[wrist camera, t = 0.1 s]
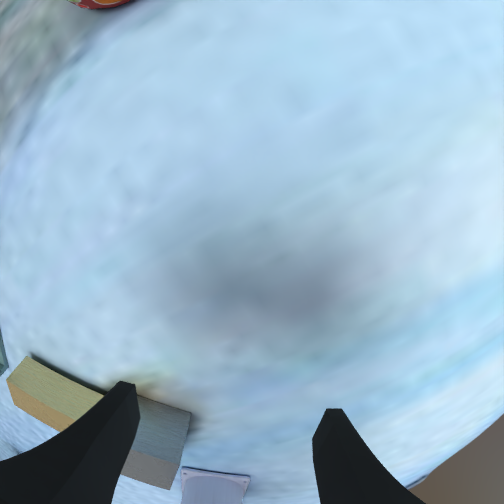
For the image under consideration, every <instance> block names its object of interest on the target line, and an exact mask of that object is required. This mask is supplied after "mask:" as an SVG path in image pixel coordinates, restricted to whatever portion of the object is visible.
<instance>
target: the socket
mask: <svg viewBox="0 0 504 504" xmlns="http://www.w3.org/2000/svg"><path fill="white" fill-rule="evenodd" d="M7 368H8V363H7V359H6V355H5V350H4V346H3V341H2V336H1V331H0V376H1V375H2V374H3V373H4V372H5V371H6V369H7Z"/></svg>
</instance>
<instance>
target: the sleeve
mask: <svg viewBox="0 0 504 504" xmlns="http://www.w3.org/2000/svg"><path fill="white" fill-rule="evenodd" d="M137 399H138V405H139V410H140V416H141V418H140V422H139V425H138V429H137V433H136V436H135V440H134V442H133V444H132V447H131V449H130V452H129V454H128V457H127V459H126V461H125V464H124V466H123V469H122V471H121V475H124V476H127V477H129V478H132V479H135V480H138V481H141V482H144V483H147V484H150V485H153V486H157V487H160V488H163V489H167V490H170V488H171V485H172V483H173V480H174V478H175V475H176V473H177V470H178V468H179V465H180V461H181V457H182V452H183V448H184V443H185V439H186V434H187V430H188V426H189V421H190V417H191V413H189V412H186V411H183V410H180V409H176V408H173V407H170V406H167V405H164V404H161V403H158V402H155V401H152V400H150V399H147V398H144V397H141V396H139V395H137Z"/></svg>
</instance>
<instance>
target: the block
mask: <svg viewBox="0 0 504 504" xmlns="http://www.w3.org/2000/svg"><path fill="white" fill-rule="evenodd" d="M6 381H7V384H8V387H9V390H10V393H11V396H12V399H13V402H14V405H16V406H17V407H19V408H20V409H22V410H23V411H25V412H27V413H28V414H30V415H31V416H33V417H35V418H36V419H38V420H40V421H41V422H43V423H45V424H47V425H48V426H50V427H52V428H54V429H56V430H57V431H59V432H62V431H63V430H64V429H66V428H67V427H68V426H70V425H71V424H72V423H74V422H75V421H76V420H77V419H79V418H80V417H81V416H82V415H84V414H85V413H86V412H87V411H88V410H89V409H90V408H92V407H93V406H94V405H95V404H96V403H97V402H98V401H99V400H100V399H101V398H103V397H104V395H101V394H99V393H97V392H95V391H93V390H90V389H88V388H86V387H84V386H82V385H80V384H78V383H76V382H74V381H72V380H70V379H68V378H66V377H64V376H62V375H60V374H58V373H56V372H54V371H52V370H51V369H49V368H47V367H45V366H43V365H42V364H40V363H38V362H36V361H35V360H33V359H31V358H30V357H28V356H26V357H25V358H24V360H23V361H22V362H21V363H20V364H19V365H18V366H17V367H16V369H15V370H14V371H13V372H12V373H11V374H10V376H9V377H8V378H7V379H6Z"/></svg>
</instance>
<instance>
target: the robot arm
mask: <svg viewBox="0 0 504 504" xmlns="http://www.w3.org/2000/svg"><path fill="white" fill-rule="evenodd" d="M140 418H141V416H140V410H139V405H138V399H137V393H136V387H135V384H131V383H127V382H123V381H119V382H118V383H117V384H116V385H115V386H114V387H113V388H112V389H111V390H110V391H109V392H108V393H107V394H106V395H105V396H104V397H103V398H101V399H100V400H99V401H98V402H97V403H96V404H95V405H94V406H93V407H92V408H90V409H89V410H88V411H87V412H86V413H85V414H84V415H82V416H81V417H80V418H79V419H77V420H76V421H75V422H74V423H72V424H71V425H70V426H68V427H67V428H66V429H64V430H63V431H62V432H60V433H59V434H57V435H56V436H54V437H52V438H51V439H49V440H48V441H46V442H44V443H42V444H40V445H39V446H37V447H35V448H33V449H31V450H29V451H26V452H24V453H22V454H19V455H17V456H14V457H11V458H9V459H6V460H3V461H0V504H111V502H112V498H113V494H114V490H115V487H116V484H117V481H118V478H119V476H120V474H121V471H122V469H123V466H124V464H125V461H126V459H127V457H128V454H129V452H130V449H131V447H132V444H133V442H134V440H135V436H136V433H137V429H138V425H139V422H140ZM312 446H313V463H314V469H315V475H316V480H317V486H318V492H319V498H320V503H321V504H426V503H424V502H423V501H422V500H420V499H419V498H418V497H416V496H415V495H414V494H412V493H411V492H410V491H408V490H407V489H406V488H405V487H404V486H403V485H401V484H400V483H399V482H398V481H397V480H396V479H395V478H394V477H393V476H392V475H391V474H390V473H389V472H388V471H387V469H386V468H385V467H384V466H383V465H382V464H381V463H380V461H379V460H378V459H377V458H376V457H375V455H374V454H373V453H372V451H371V450H370V449H369V447H368V446H367V445H366V443H365V442H364V441H363V439H362V438H361V437H360V435H359V434H358V432H357V431H356V429H355V428H354V426H353V425H352V423H351V422H350V420H349V419H348V417H347V416H346V414H345V413H344V411H343V410H342V409H326V411H325V413H324V415H323V417H322V419H321V421H320V424H319V426H318V428H317V430H316V432H315V434H314V436H313V438H312ZM181 481H182V499H181V504H242V499H243V497H244V494H245V492H246V489H247V487H248V485H249V482H250V477H248V476H239V475H229V474H221V473H214V472H207V471H201V470H195V469H190V468H182V469H181Z"/></svg>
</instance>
